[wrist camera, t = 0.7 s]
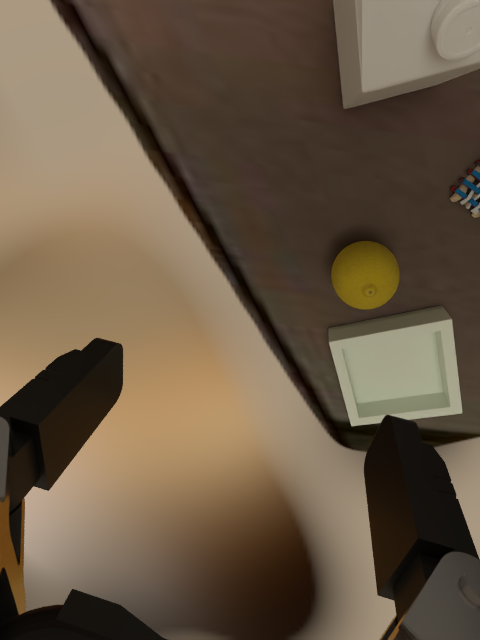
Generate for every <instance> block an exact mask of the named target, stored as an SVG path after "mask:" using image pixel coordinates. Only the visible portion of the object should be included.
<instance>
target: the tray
mask: <svg viewBox="0 0 480 640" xmlns="http://www.w3.org/2000/svg"><path fill="white" fill-rule="evenodd" d="M328 335H329V345H330V348H331V352H332V356H333V360H334V363H335V367H336V371H337V374H338V378H339V382H340V386H341V389H342V393H343V397H344V400H345V404H346V408H347V412H348V415H349V419H350V423H351V426H357V425H365V424H374V423H381V422H382V420H383V418H384V417H385V416H386V415H391V416H395V417H399V418H403V419H407V420H409V419H418V418H426V417H435V416H444V415H452V414H461V413H462V405H461V396H460V387H459V379H458V370H457V361H456V352H455V343H454V335H453V326H452V319H451V317H450V316H449V315H448V313H447V312H446V310H445V309H444V307H443V306H442V305H440V306H435V307H430V308H425V309H420V310H415V311H410V312H405V313H400V314H395V315H390V316H385V317H380V318H375V319H370V320H365V321H360V322H355V323H350V324H345V325H340V326H335V327H330V328H328Z"/></svg>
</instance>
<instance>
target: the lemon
mask: <svg viewBox="0 0 480 640" xmlns="http://www.w3.org/2000/svg"><path fill="white" fill-rule="evenodd" d="M399 276H400V271H399V266H398V262H397V260H396V259H395V257H394V255H393V253H392V252H391V251H389V250H388V249H387V248H386V247H385V246H383V245H381V244H379V243H377V242H373V241H359V242H355V243H352V244H350V245H348V246H346V247H345V248H344V249H343V250H342V251H341V252H340V253H339V254H338V256H337V257H336V258H335V261H334V263H333V266H332V272H331V279H332V284H333V287H334V289H335V291H336V293H337V295H338V296H339V297H340V298H341V299H342V301H344V302H345V303H347V304H348V305H350V306H352V307H354V308H357V309H373V308H376V307H379V306H381V305H383V304H385V303H386V302H387V301H388V300H389V299H390V298H391V297H392V296H393V295H394V293H395V292H396V289H397V287H398V284H399Z"/></svg>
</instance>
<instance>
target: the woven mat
mask: <svg viewBox="0 0 480 640" xmlns="http://www.w3.org/2000/svg"><path fill="white" fill-rule="evenodd" d="M475 164H477V165H478V166H477V167H476V168H475V169H474V170H472V169H471V168H470V169H469V170H468V171H467V172H468V173H469V174H470V175H469V176H468V177H467V178H466V179H465V178H463V177H462V178H461V180H460V181H459V182H461V183H462V184H461V185H460V186H459V188H456V187H455V186H452V187H451V188H450V190H452V191H453V192H454V194H453V195H452V196H451V197H450V200H451V201H452V202H457V201H458V200H460V199H461V198H462V199H464V200H463V201H461V202H460V203H461V204H462V205H463V204H464V205H466V208H467V209H469V208H470V206H471V205H472V206H473V207H475V208H474V209H472V210H471V211H472V215H471V216H473V217H474V218H477V217H480V203H478V202H477V201H476V199H478V198H479V197H480V183H479V184H477V185H476V186H475V185H474V184H472V183H473V182H474V181H475V180H477V181H478V182H480V160H478V161H477V162H476V163H475ZM468 189H470V190H471V192H470V193H469V195H467V194H466V192H467V190H468Z"/></svg>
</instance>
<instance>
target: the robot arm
mask: <svg viewBox="0 0 480 640" xmlns="http://www.w3.org/2000/svg"><path fill="white" fill-rule="evenodd" d="M122 386H123V347H122V345H121V344H119V343H116V342H112V341H108V340H104V339H100V338H96V339H94V340H92V341H91V342H90V343H89V344H88V345H87V346H86V347H85V348H84V349H83V350H82V351H80V350H76V349H75V350H73V351H70V352H68V353H66V354H64V355H61V356H59V357H58V358H56V359H55V360H54V361H53V362H52V363H51V364H49V365H48V366H47V367H46V369H45V370H43V371H41V372H40V373H39V374H38V375H37V376H35V379H32V380H31V381H30V382H29V383H27V384H26V385H25V386H24V387H23V388H22V389H20V390H19V391H18V392H17V393H16V394H15V395H13V396H12V397H11V398H10V399H9V400H8V401H6V402H5V403H4V404H3V405H2V406H1V407H0V640H167V639H164V638H163V637H161V636H160V635H158V634H157V633H156V632H154V631H153V630H152V629H151V628H149V627H148V626H147V625H146V624H144V623H143V622H142V621H140V620H139V619H138V618H136V617H135V616H134V615H133V614H131V613H130V612H129V611H127V610H126V609H125V608H124V607H122V606H121V605H119V604H116V603H112V602H110V601H107V600H104V599H101V598H98V597H95V596H92V595H89V594H86V593H83V592H80V591H77V590H74V589H72V590H71V592H70V594H69V596H68V598H67V600H66V601H65V603H64V605H52V606H46V607H41V608H38V609H34V610H30V611H27V612H26V600H25V589H24V575H23V566H24V564H23V563H24V520H25V519H24V518H25V499H24V497H25V496H26V495H27V493H28V492H29V491H30V490H31V488H32V487H33V486H35V487H38V488H42V489H44V490H48V491H49V490H50V488H51V487H52V486H53V484H54V483H55V482H56V481H57V479H58V478H59V477H60V475H61V474H62V473H63V471H64V470H65V469H66V467H67V466H68V465H69V463H70V462H71V461H72V460H73V458H74V457H75V456H76V454H77V453H78V452H79V450H80V449H81V448H82V446H83V445H84V444H85V442H86V441H87V440H88V438H89V437H90V436H91V435H92V433H93V432H94V431H95V429H96V428H97V427H98V425H99V424H100V423H101V421H102V420H103V419H104V417H105V416H106V415H107V413H108V412H109V411H110V410H111V408H112V407H113V406H114V404H115V403H116V402H117V400H118V398H119V396H120V393H121V390H122ZM364 477H365V486H366V494H367V504H368V512H369V521H370V530H371V539H372V548H373V557H374V566H375V574H376V584H377V593H378V595H379V596H382V597H385V598H388V599H392V600H394V601H395V607H396V614H397V615H396V617H395V618H394V619H393V620H392V621H391V623H390V625H389V626H388V628H387V629H386V631H385V632H384V634H383V635H382V637H381V638H380V640H480V559H479V557H478V554H477V552H476V549H475V546H474V543H473V540H472V538H471V535H470V532H469V529H468V526H467V523H466V520H465V518H464V515H463V512H462V509H461V506H460V504H459V501H458V499H456V492H455V490H454V487H453V484H452V483H451V478H450V476H449V473H448V470H447V467H446V464H445V462H444V461H443V459H442V458H441V457H440V456H439V454H438V453H437V452H436V450H435V449H434V448H433V446H432V445H429V444H425V443H423V442H422V439H421V436H420V433H419V429H418V426H417V424H416V423H415V422H414V421H410V420H407V419H403V418H399V417H395V416H391V415H386V416H385V417H384V418H383V420H382V422H381V424H380V426H379V428H378V430H377V432H376V434H375V436H374V438H373V440H372V442H371V444H370V447H369V449H368V451H367V454H366V457H365V463H364Z"/></svg>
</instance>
